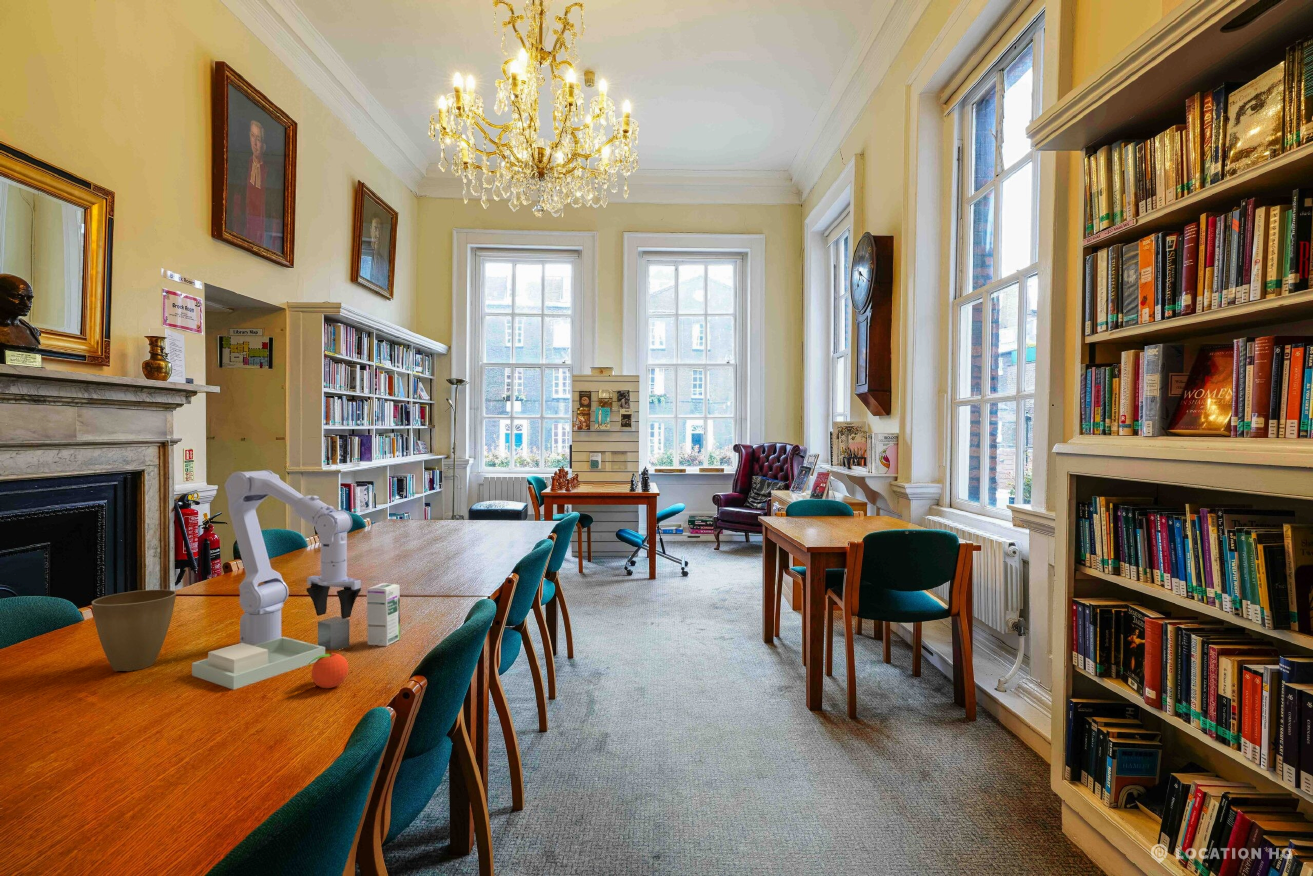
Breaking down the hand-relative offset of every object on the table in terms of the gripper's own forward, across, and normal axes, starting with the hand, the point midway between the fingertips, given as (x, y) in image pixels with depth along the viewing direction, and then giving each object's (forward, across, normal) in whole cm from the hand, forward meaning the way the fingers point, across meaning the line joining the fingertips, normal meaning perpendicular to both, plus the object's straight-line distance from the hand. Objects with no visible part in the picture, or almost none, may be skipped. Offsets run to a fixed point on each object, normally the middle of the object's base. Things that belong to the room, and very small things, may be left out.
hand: (333, 616), depth 153 cm
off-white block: (+8, -6, -20) cm, 22 cm away
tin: (+9, -2, +2) cm, 9 cm away
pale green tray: (+9, -6, -15) cm, 18 cm away
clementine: (+9, +16, -18) cm, 26 cm away
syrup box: (+9, +7, +9) cm, 15 cm away
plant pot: (+9, -35, -22) cm, 42 cm away
